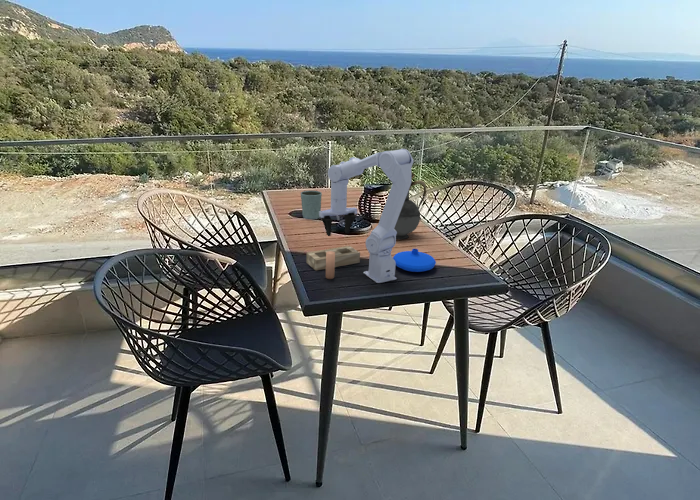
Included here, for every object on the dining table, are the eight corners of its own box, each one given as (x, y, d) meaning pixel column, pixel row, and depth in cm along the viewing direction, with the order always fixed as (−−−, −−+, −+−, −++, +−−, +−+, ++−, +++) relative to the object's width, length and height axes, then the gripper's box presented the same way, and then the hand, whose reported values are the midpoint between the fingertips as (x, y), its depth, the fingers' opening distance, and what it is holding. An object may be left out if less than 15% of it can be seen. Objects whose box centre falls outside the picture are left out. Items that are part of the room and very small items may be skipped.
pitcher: (378, 234, 199) (382, 166, 188) (415, 230, 206) (422, 165, 195) (389, 242, 190) (394, 171, 179) (428, 238, 197) (435, 169, 186)
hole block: (359, 262, 168) (360, 252, 166) (315, 270, 159) (316, 260, 158) (349, 255, 174) (349, 245, 173) (306, 262, 166) (306, 252, 164)
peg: (335, 278, 154) (336, 253, 151) (328, 279, 153) (328, 255, 150) (331, 274, 157) (332, 250, 153) (324, 276, 155) (324, 252, 152)
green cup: (320, 220, 215) (320, 195, 211) (299, 219, 215) (299, 194, 211) (322, 214, 225) (322, 190, 220) (301, 213, 225) (301, 189, 220)
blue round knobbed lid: (401, 278, 157) (403, 259, 154) (385, 261, 171) (387, 243, 168) (442, 274, 161) (444, 256, 158) (423, 258, 175) (425, 241, 172)
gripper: (351, 193, 168) (349, 228, 173) (315, 197, 161) (315, 233, 166) (360, 198, 162) (358, 234, 167) (324, 202, 156) (323, 239, 161)
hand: (337, 234), depth 166 cm, fingers open, 7 cm apart
